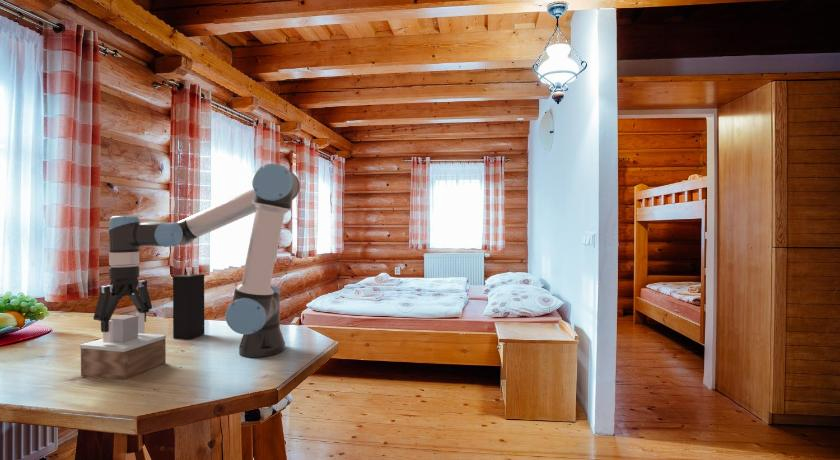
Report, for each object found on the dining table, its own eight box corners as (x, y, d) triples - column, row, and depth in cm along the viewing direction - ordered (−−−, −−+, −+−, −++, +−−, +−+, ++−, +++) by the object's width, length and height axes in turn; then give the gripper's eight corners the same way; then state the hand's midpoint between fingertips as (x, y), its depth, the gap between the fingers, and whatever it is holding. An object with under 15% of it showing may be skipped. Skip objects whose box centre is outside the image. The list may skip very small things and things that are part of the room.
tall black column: (189, 339, 154) (189, 268, 154) (172, 338, 156) (172, 267, 156) (204, 334, 162) (204, 266, 162) (188, 333, 164) (187, 265, 163)
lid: (165, 338, 128) (166, 335, 128) (123, 352, 114) (123, 348, 114) (125, 335, 132) (125, 332, 132) (80, 348, 117) (80, 344, 117)
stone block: (138, 338, 125) (138, 315, 125) (123, 342, 120) (123, 319, 120) (125, 337, 126) (125, 315, 126) (109, 341, 121) (109, 318, 121)
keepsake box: (165, 363, 128) (165, 338, 128) (124, 379, 114) (124, 351, 114) (125, 359, 131) (125, 335, 131) (80, 374, 118) (80, 348, 118)
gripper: (146, 262, 134) (147, 327, 134) (76, 269, 112) (76, 347, 113) (165, 262, 133) (165, 329, 133) (97, 269, 111) (97, 349, 111)
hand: (124, 337), depth 123 cm, fingers open, 10 cm apart
